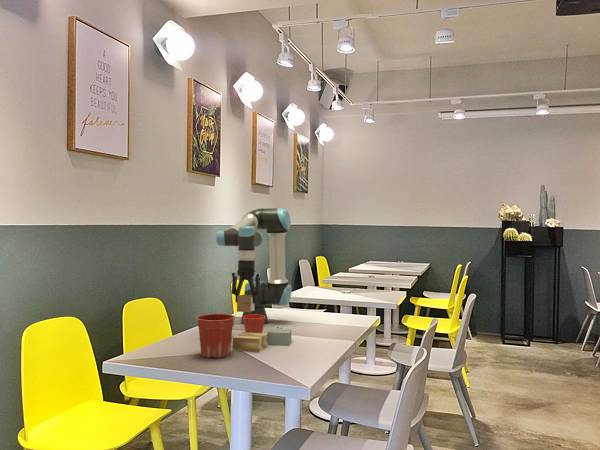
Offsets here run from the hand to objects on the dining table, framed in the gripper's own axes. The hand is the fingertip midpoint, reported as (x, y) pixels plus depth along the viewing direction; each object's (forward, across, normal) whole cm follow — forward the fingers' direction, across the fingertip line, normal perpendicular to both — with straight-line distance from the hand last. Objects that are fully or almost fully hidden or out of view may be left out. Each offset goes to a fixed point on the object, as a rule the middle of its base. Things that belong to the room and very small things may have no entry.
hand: (245, 310), depth 231 cm
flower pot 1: (+17, -5, -20) cm, 26 cm away
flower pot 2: (+16, -4, +20) cm, 26 cm away
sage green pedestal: (+16, +13, +10) cm, 23 cm away
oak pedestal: (+16, +4, -4) cm, 18 cm away
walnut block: (0, 0, 0) cm, 0 cm away
